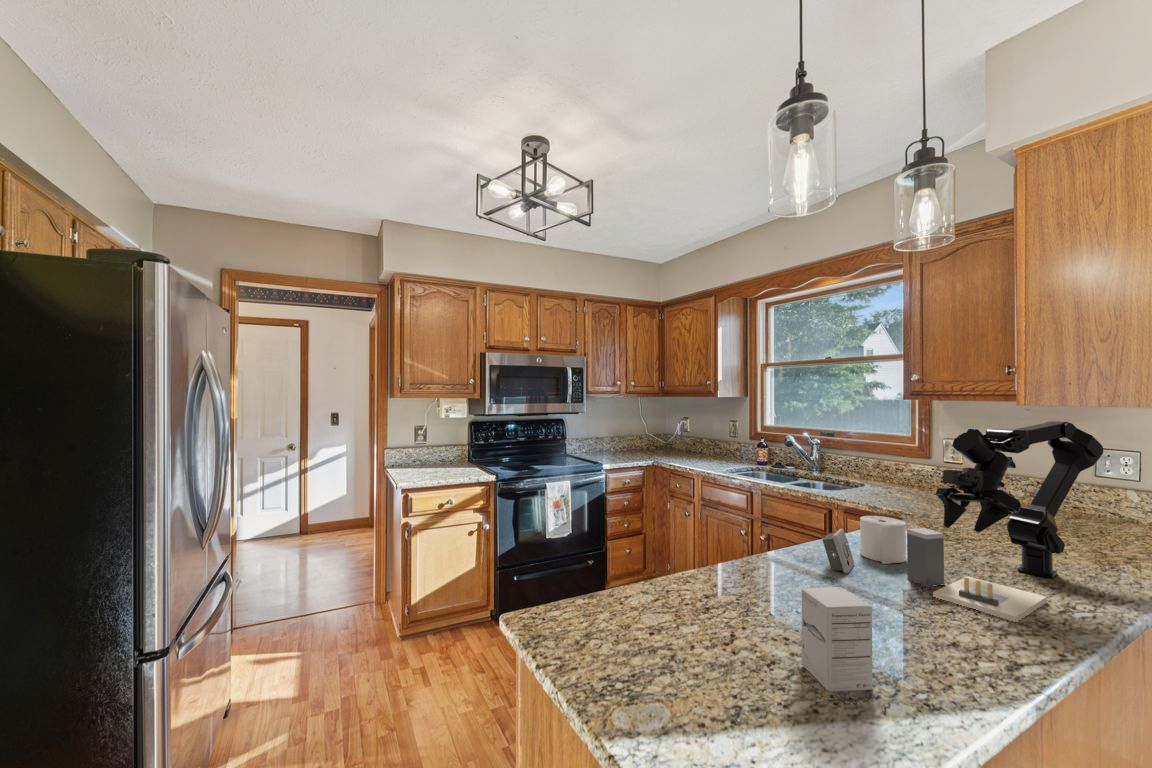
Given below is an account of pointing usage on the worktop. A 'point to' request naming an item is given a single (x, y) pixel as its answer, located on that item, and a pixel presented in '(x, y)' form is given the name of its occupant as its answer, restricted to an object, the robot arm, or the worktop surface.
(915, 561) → the plug block
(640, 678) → the worktop surface
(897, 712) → the worktop surface
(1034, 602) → the board
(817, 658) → the supplement box
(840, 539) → the electrical switch
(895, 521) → the toilet tissue
